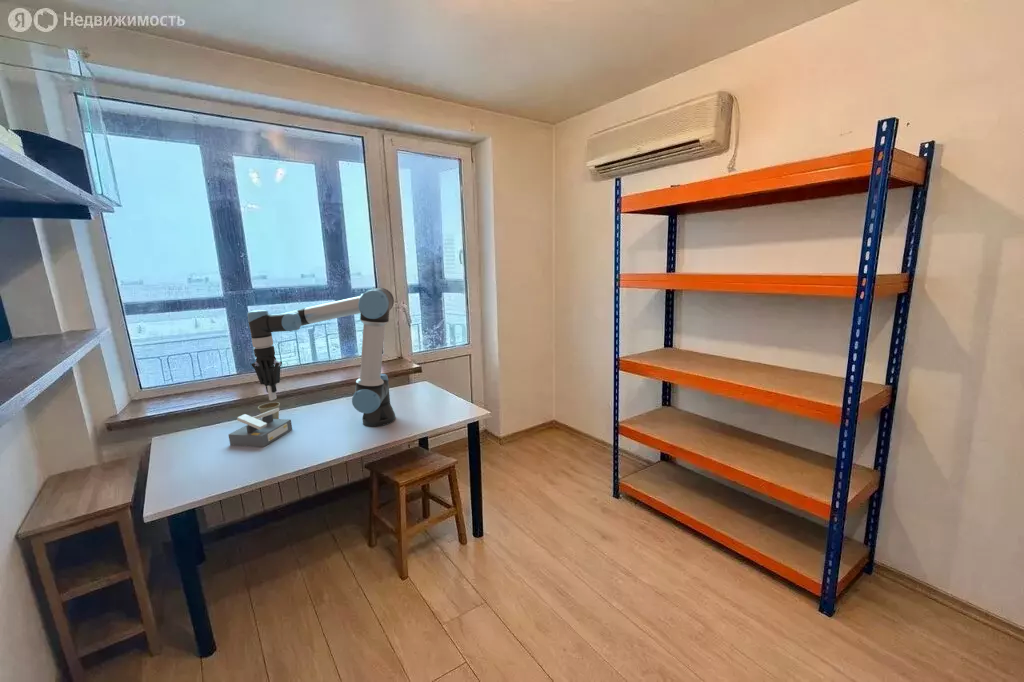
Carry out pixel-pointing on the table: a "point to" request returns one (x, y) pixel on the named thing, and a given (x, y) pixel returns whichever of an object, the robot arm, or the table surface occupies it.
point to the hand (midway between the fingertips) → (273, 399)
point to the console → (260, 433)
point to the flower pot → (270, 408)
